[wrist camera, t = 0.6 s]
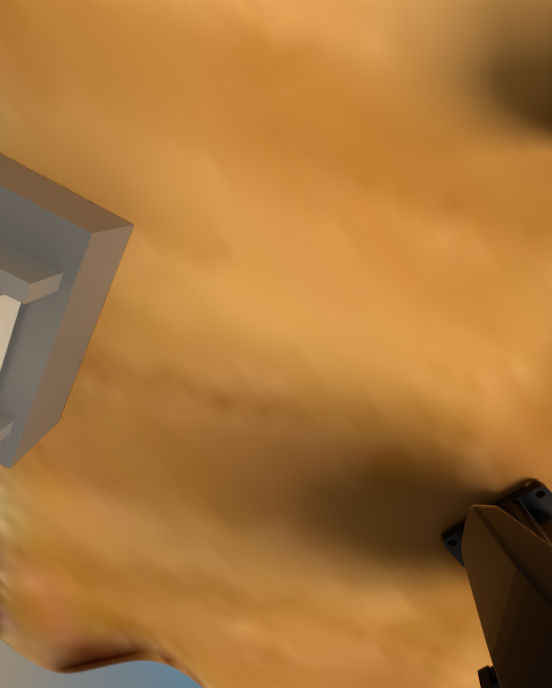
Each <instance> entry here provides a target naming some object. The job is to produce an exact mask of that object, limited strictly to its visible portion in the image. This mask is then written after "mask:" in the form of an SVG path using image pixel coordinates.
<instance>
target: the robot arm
mask: <svg viewBox="0 0 552 688" xmlns="http://www.w3.org/2000/svg"><path fill="white" fill-rule="evenodd" d="M538 491H539V492H538ZM537 492H538V493H537ZM441 539H442V542H443V544H444V546H445V548H446V549H447V550H448V551H449V552H450V553H451V554H452V555H453V556H454V557H455V558H456V559H457V560H458V561H459V562H460V563H461V564H462V565H463V566H464V567H465V568H466V572H467V575H468V579H469V582H470V586H471V590H472V593H473V597H474V600H475V604H476V608H477V611H478V615H479V618H480V622H481V626H482V629H483V633H484V637H485V640H486V644H487V647H488V650H489V654H490V657H491V660H492V663H493V666H491V667H489V666H488V665H487V666H485V667H483V668H481V669H480V670H478V676H479V681H480V686H481V688H552V493H551V492H550V490H549V489H548V488H547V487H546V486H545V484H543V483H541V482H534V483H532V484H530V485H528V486H526V487H524V488H523V489H521V490H519V491H517V492H516V493H514V494H512V495H510V496H508V497H507V498H505V499H503V500H501V501H500V502H498V503H496V504H494V505H472V506H471V507H470V508H469V510H468V513H467V518H466V521H464V522H462V523H461V524H459V525H457V526H455V527H453V528H452V529H450V530H448V531H446V532H445V533H444V534H443V535H442V536H441ZM450 540H451V541H450Z"/></svg>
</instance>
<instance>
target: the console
mask: <svg viewBox="0 0 552 688" xmlns="http://www.w3.org/2000/svg"><path fill="white" fill-rule="evenodd" d="M133 226H134V225H133V224H131V223H130V222H128V221H126V220H124V219H122V218H120V217H118V216H116V215H115V214H113V213H111V212H109V211H107V210H105V209H103V208H101V207H99V206H98V205H96V204H94V203H92V202H90V201H88V200H86V199H84V198H83V197H81V196H79V195H77V194H75V193H73V192H71V191H69V190H68V189H66V188H64V187H62V186H60V185H58V184H56V183H54V182H53V181H51V180H49V179H47V178H45V177H43V176H41V175H39V174H38V173H36V172H34V171H32V170H30V169H28V168H26V167H24V166H23V165H21V164H19V163H17V162H15V161H13V160H11V159H9V158H8V157H6V156H4V155H2V154H0V293H2V294H4V295H6V296H8V297H11V298H13V299H15V300H17V301H19V302H21V304H20V307H19V311H18V314H17V317H16V321H15V324H14V327H13V330H12V334H11V337H10V340H9V344H8V347H7V350H6V354H5V357H4V360H3V364H2V367H1V370H0V464H1V465H4V466H6V467H8V468H11V467H12V466H13V465H14V464H15V463H16V462H17V461H18V460H19V459H20V458H21V457H22V456H24V455H25V454H26V453H27V452H28V451H29V450H30V449H31V448H32V447H33V446H34V445H35V444H36V443H37V442H38V441H39V440H40V439H41V438H42V437H43V436H44V435H45V434H46V433H47V432H49V431H50V430H51V429H52V428H53V427H54V426H55V425H56V424H57V423H58V421H59V419H60V416H61V414H62V411H63V408H64V406H65V403H66V400H67V398H68V395H69V393H70V390H71V387H72V385H73V382H74V380H75V377H76V374H77V372H78V369H79V367H80V364H81V361H82V359H83V356H84V354H85V351H86V348H87V346H88V343H89V341H90V338H91V335H92V333H93V330H94V327H95V325H96V322H97V320H98V317H99V314H100V312H101V309H102V307H103V304H104V301H105V299H106V296H107V294H108V291H109V288H110V286H111V283H112V281H113V278H114V275H115V273H116V270H117V267H118V265H119V262H120V260H121V257H122V254H123V252H124V249H125V247H126V244H127V241H128V239H129V236H130V234H131V231H132V228H133Z"/></svg>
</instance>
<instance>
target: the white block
mask: <svg viewBox="0 0 552 688" xmlns="http://www.w3.org/2000/svg"><path fill="white" fill-rule="evenodd" d="M20 304H21V302H19V301H17V300H15V299H13V298H11V297H8V296H6V295H4V294H2V293H0V370H1V367H2V364H3V360H4V357H5V354H6V350H7V347H8V344H9V340H10V337H11V334H12V330H13V327H14V324H15V321H16V317H17V314H18V311H19V307H20Z"/></svg>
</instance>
